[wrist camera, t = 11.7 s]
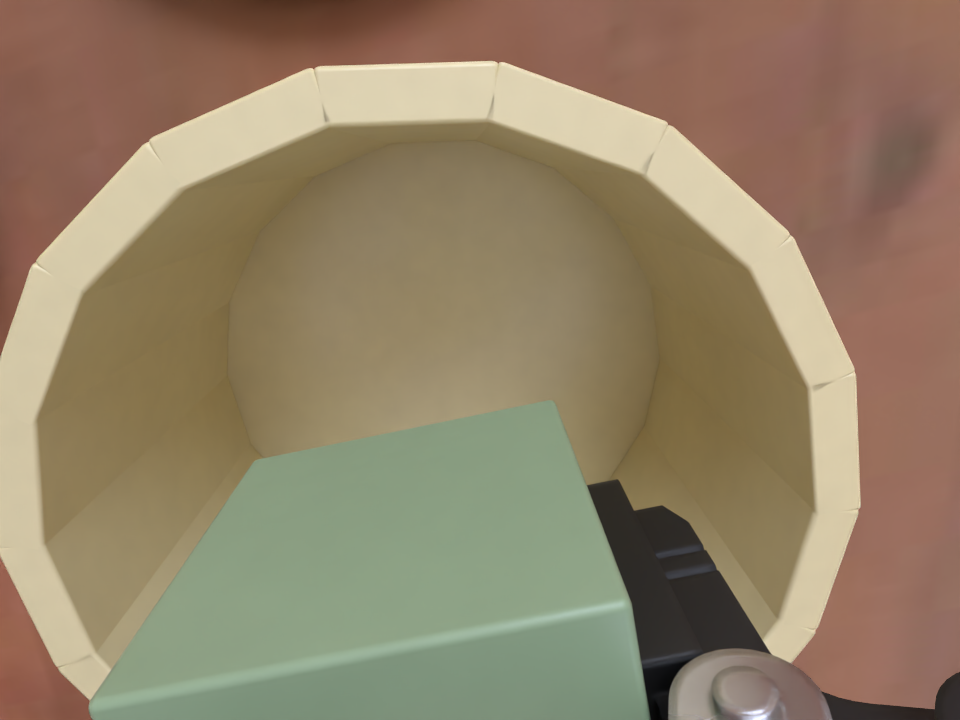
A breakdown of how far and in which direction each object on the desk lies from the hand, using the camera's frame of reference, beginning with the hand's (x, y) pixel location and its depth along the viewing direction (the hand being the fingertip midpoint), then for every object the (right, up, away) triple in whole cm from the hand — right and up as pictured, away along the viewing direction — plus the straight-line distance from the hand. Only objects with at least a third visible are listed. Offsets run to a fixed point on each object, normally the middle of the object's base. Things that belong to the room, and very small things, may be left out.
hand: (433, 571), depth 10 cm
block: (0, 0, 0) cm, 0 cm away
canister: (0, +3, +10) cm, 11 cm away
